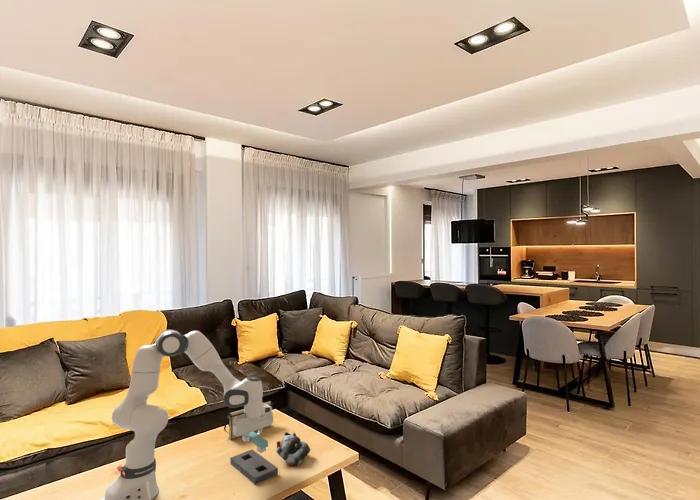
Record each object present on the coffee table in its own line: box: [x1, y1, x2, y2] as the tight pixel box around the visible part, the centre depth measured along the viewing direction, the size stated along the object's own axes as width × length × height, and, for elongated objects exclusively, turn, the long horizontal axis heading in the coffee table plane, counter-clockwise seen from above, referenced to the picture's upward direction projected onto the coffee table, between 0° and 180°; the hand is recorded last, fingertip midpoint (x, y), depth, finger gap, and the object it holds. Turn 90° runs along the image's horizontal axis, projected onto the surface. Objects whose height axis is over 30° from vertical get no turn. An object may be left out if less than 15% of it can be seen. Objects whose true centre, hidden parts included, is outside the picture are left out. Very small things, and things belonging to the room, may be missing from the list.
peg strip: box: [241, 431, 269, 454], centre depth 194 cm, size 4×20×5 cm, turn 43°
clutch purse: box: [223, 400, 274, 441], centre depth 233 cm, size 30×7×15 cm, turn 132°
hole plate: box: [229, 449, 279, 486], centre depth 194 cm, size 12×24×3 cm, turn 43°
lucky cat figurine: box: [276, 431, 311, 467], centre depth 203 cm, size 15×12×14 cm
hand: (253, 439), depth 194 cm, fingers closed on peg strip, 3 cm apart
